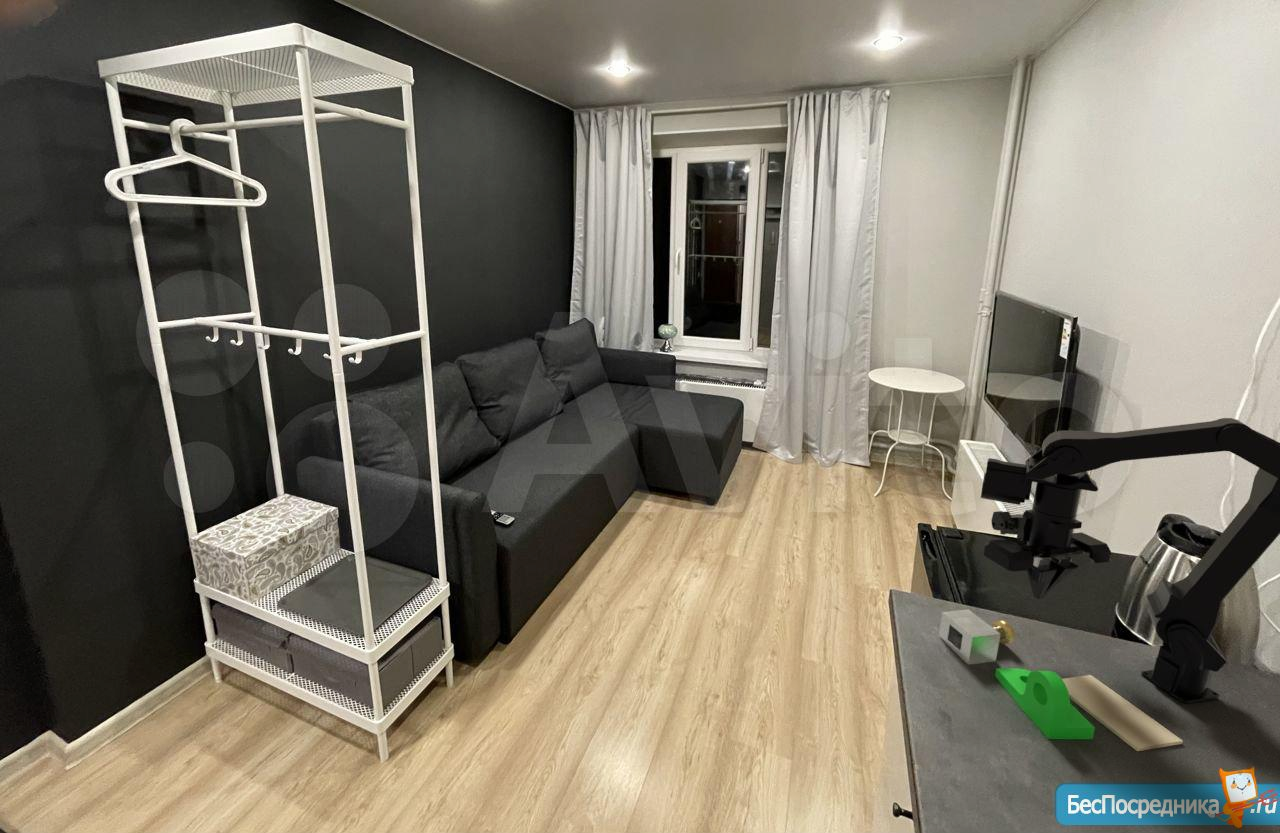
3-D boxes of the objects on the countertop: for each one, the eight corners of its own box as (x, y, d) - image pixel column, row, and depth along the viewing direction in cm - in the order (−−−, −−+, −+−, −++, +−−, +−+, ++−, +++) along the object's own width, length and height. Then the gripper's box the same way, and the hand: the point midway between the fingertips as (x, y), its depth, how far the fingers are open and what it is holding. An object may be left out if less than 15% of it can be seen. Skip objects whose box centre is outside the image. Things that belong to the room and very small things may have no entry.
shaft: (996, 634, 98) (999, 615, 97) (1013, 647, 94) (1016, 628, 93) (959, 639, 96) (962, 620, 96) (974, 652, 93) (978, 632, 92)
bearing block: (963, 637, 99) (968, 609, 97) (995, 663, 92) (1000, 633, 91) (938, 640, 98) (942, 612, 97) (967, 667, 91) (972, 637, 90)
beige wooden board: (1090, 677, 89) (1090, 674, 89) (1182, 743, 76) (1182, 740, 76) (1050, 683, 88) (1050, 680, 88) (1137, 751, 75) (1138, 748, 75)
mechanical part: (1092, 740, 77) (1103, 689, 75) (1047, 740, 77) (1058, 689, 75) (1033, 679, 89) (1041, 634, 87) (994, 679, 89) (1002, 634, 87)
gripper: (1059, 489, 101) (1044, 569, 104) (965, 495, 97) (953, 578, 101) (1122, 513, 90) (1103, 602, 94) (1019, 522, 87) (1003, 614, 90)
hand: (1038, 598), depth 95 cm, fingers closed
